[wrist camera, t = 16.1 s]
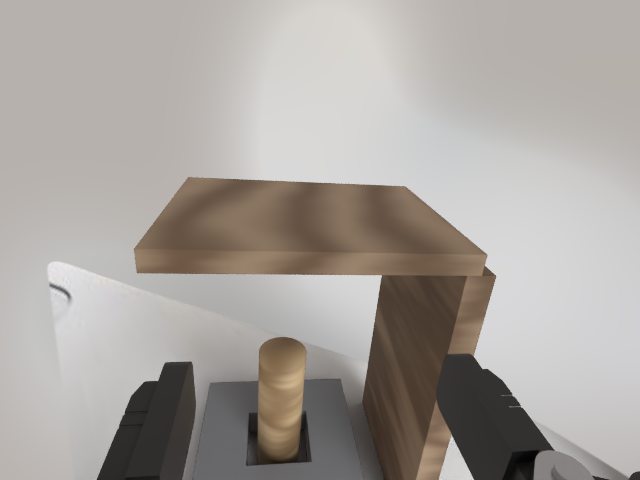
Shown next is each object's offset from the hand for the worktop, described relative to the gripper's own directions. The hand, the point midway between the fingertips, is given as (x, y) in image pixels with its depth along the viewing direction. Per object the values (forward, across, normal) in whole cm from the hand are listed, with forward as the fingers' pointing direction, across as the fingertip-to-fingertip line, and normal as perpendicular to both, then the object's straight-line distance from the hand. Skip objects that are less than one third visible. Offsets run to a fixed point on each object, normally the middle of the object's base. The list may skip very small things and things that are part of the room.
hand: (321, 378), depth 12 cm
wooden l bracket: (+19, -2, +30) cm, 35 cm away
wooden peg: (+20, 0, +30) cm, 35 cm away
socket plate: (+20, 0, +30) cm, 35 cm away
